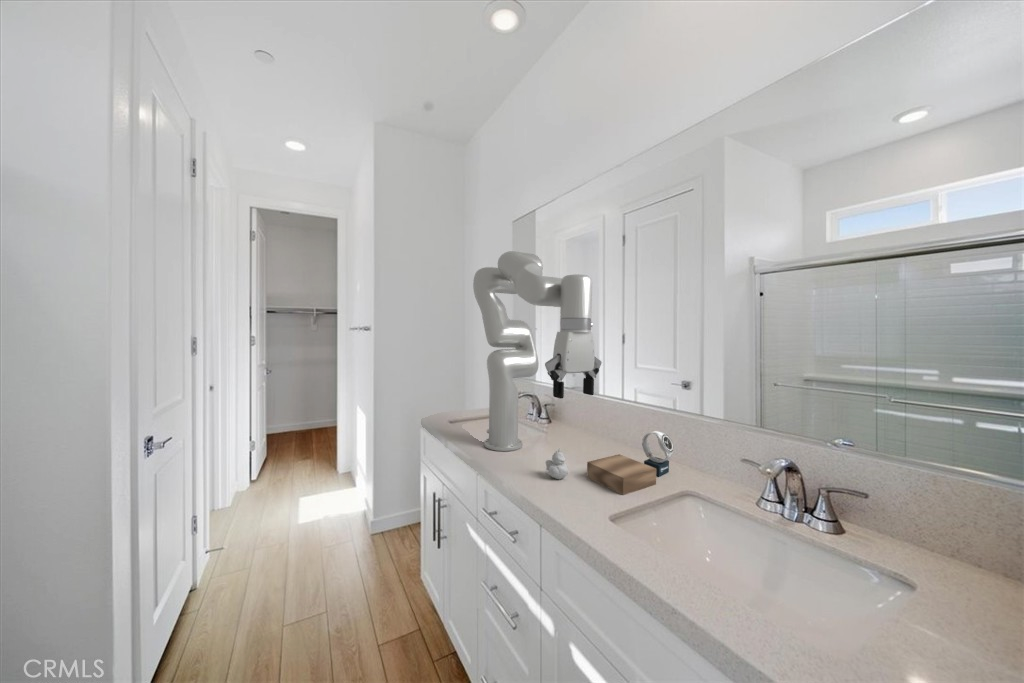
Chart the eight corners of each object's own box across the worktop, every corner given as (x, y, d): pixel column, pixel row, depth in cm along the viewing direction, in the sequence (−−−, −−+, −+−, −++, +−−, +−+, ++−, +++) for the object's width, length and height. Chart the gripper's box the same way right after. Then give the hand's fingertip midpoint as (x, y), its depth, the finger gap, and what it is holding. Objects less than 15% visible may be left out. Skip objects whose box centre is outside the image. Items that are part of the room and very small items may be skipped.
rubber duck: (561, 484, 91) (562, 452, 90) (539, 476, 95) (540, 446, 95) (572, 477, 95) (573, 447, 95) (551, 470, 99) (552, 441, 99)
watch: (666, 479, 94) (667, 437, 94) (637, 470, 100) (638, 430, 100) (676, 474, 98) (677, 433, 98) (647, 465, 104) (649, 427, 104)
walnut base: (586, 476, 95) (587, 461, 95) (618, 468, 102) (619, 454, 101) (623, 495, 85) (623, 478, 85) (656, 484, 91) (656, 468, 91)
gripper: (590, 326, 97) (588, 390, 97) (537, 325, 88) (536, 396, 88) (612, 327, 90) (610, 395, 91) (557, 325, 81) (555, 401, 82)
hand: (573, 395), depth 90 cm, fingers open, 9 cm apart
